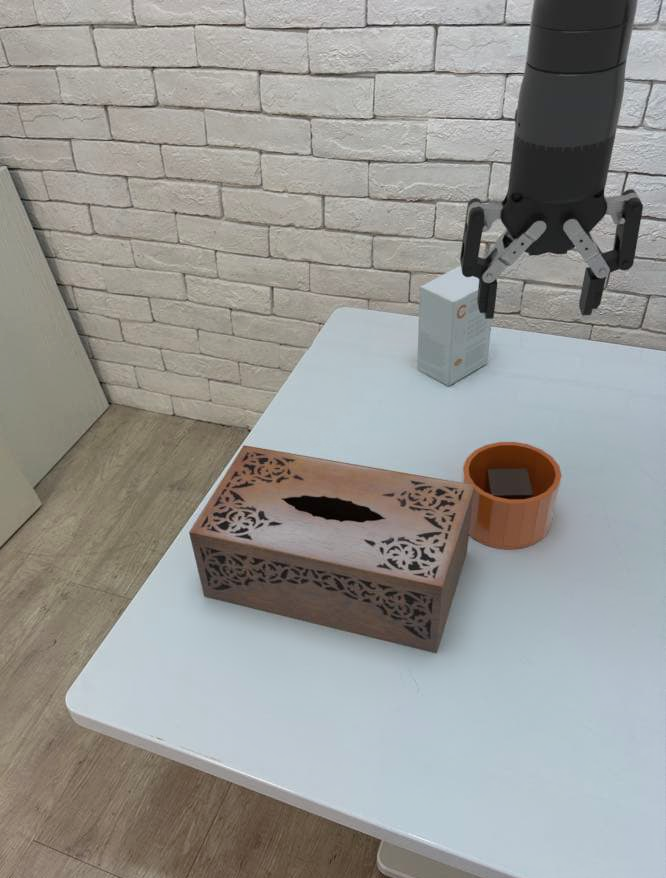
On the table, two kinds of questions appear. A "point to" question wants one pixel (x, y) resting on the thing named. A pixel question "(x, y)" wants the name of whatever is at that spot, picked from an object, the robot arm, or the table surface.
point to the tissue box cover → (335, 544)
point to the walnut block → (508, 483)
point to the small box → (451, 328)
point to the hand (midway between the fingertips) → (536, 312)
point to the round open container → (512, 517)
